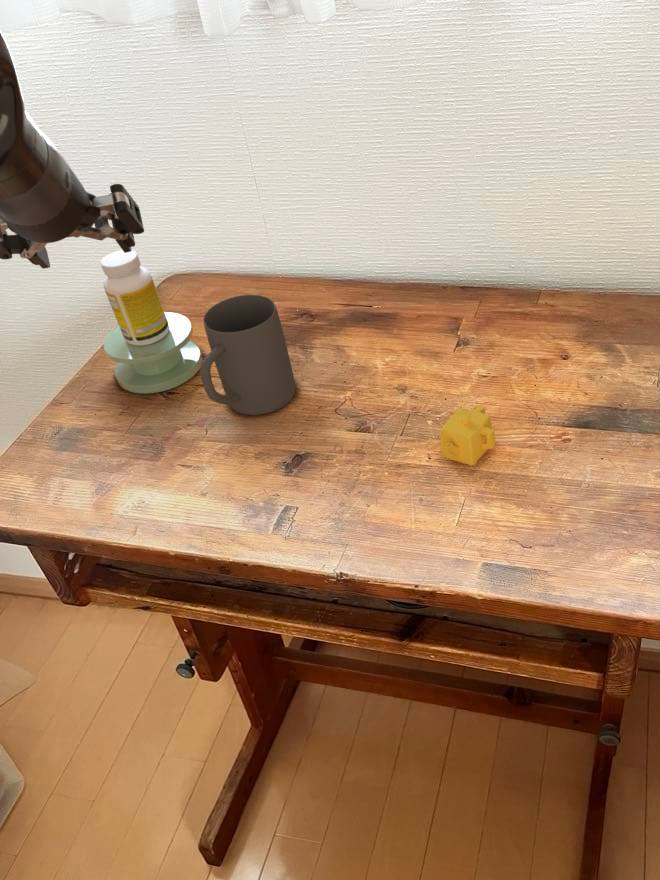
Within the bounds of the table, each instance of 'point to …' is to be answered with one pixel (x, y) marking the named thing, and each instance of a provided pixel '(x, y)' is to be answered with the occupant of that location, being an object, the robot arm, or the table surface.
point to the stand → (155, 358)
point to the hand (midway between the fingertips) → (85, 251)
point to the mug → (248, 355)
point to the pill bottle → (134, 299)
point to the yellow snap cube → (467, 435)
